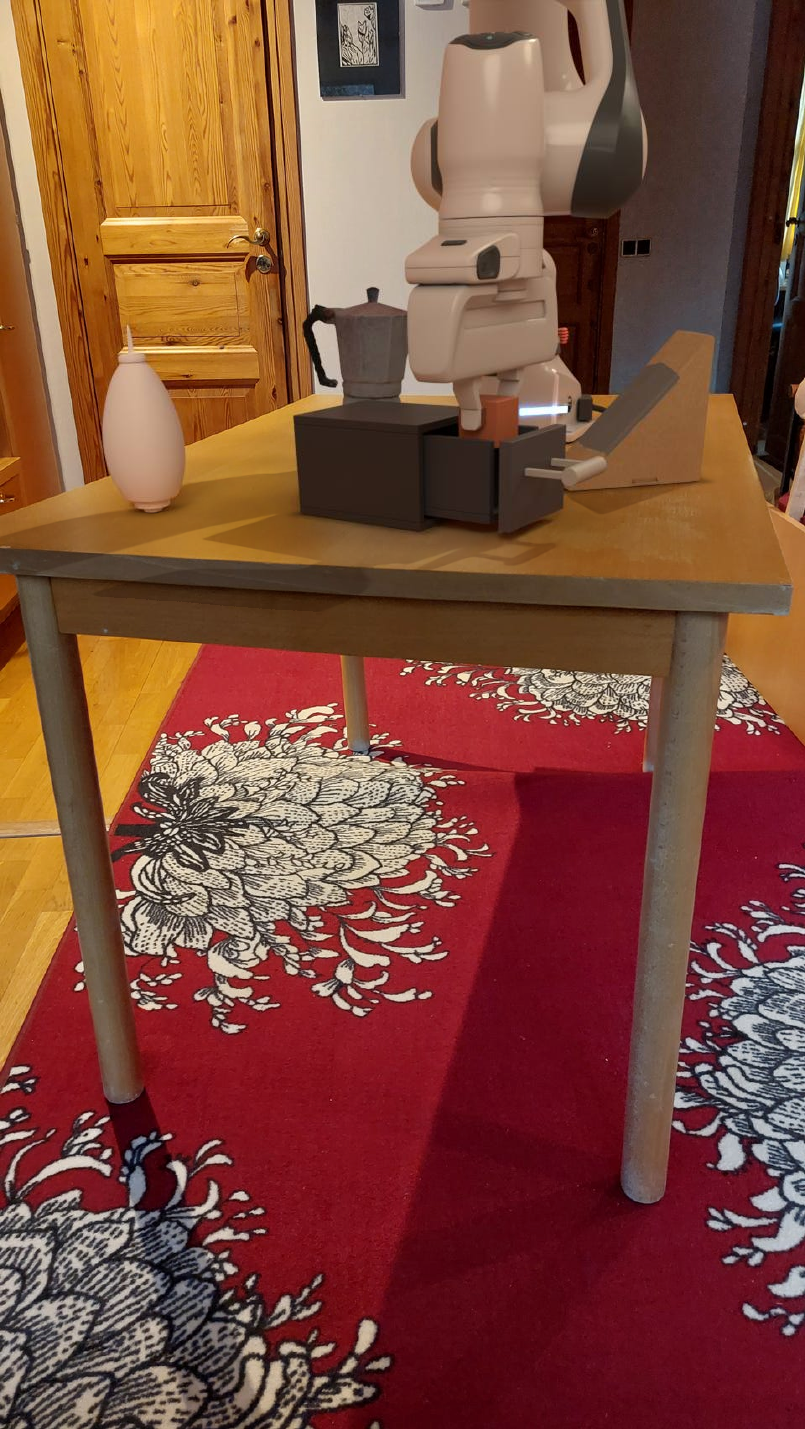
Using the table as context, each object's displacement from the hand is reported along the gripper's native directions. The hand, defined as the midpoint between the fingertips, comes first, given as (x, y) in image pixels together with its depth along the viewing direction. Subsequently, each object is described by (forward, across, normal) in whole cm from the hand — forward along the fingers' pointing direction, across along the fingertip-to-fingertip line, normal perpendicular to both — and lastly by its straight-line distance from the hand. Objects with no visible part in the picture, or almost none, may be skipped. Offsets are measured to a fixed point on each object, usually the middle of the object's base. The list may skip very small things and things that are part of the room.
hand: (489, 424), depth 89 cm
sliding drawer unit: (+8, 0, +1) cm, 8 cm away
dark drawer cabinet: (+9, 0, -11) cm, 14 cm away
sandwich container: (+9, -24, +3) cm, 26 cm away
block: (+2, 0, 0) cm, 2 cm away
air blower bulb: (+9, +12, -33) cm, 37 cm away
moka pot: (+9, -20, -29) cm, 37 cm away
